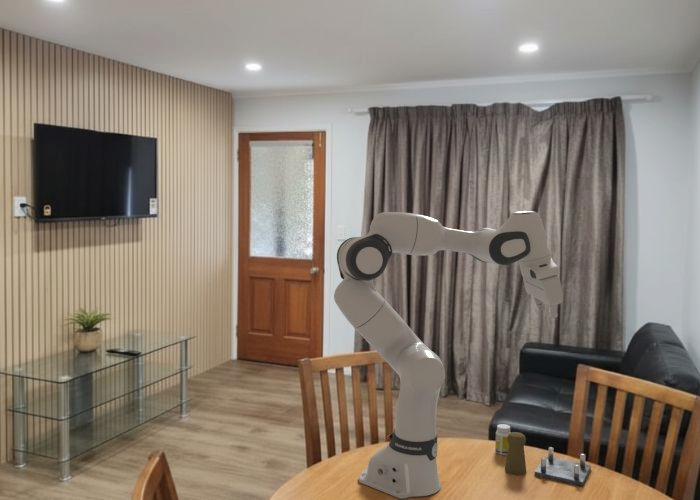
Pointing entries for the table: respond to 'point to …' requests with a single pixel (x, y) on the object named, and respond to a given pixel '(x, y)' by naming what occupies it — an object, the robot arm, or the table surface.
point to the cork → (516, 454)
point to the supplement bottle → (502, 439)
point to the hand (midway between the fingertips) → (547, 313)
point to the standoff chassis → (563, 469)
